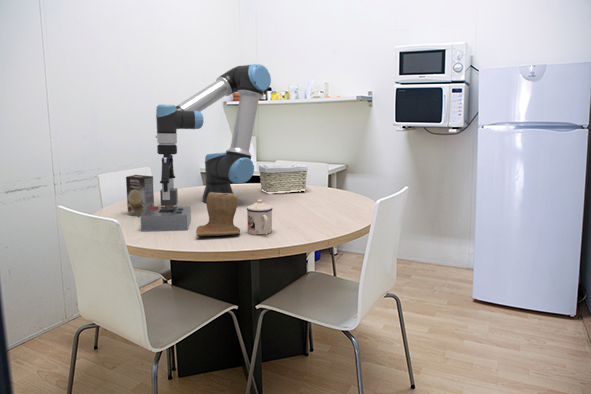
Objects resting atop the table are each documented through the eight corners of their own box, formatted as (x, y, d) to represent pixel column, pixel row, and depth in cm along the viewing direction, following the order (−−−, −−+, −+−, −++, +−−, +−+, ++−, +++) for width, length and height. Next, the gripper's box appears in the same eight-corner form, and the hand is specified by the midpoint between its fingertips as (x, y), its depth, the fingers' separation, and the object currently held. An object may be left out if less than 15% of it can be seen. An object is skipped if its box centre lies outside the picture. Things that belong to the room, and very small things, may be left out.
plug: (178, 214, 189) (177, 188, 187) (176, 217, 183) (175, 190, 181) (163, 214, 188) (162, 188, 186) (161, 217, 182) (160, 190, 180)
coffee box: (126, 215, 186) (124, 176, 183) (137, 212, 192) (135, 174, 189) (145, 217, 183) (143, 177, 181) (155, 213, 189) (153, 175, 186)
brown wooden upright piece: (237, 229, 166) (237, 188, 163) (241, 237, 155) (241, 194, 152) (195, 231, 162) (194, 189, 160) (196, 240, 151) (195, 195, 148)
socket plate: (190, 219, 179) (190, 204, 178) (187, 230, 164) (186, 212, 163) (148, 220, 177) (148, 205, 176) (141, 231, 161) (140, 213, 160)
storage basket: (264, 195, 236) (264, 167, 234) (257, 190, 251) (257, 163, 249) (308, 193, 243) (308, 165, 241) (298, 188, 259) (299, 162, 256)
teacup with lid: (243, 230, 164) (243, 198, 162) (267, 228, 168) (267, 197, 166) (253, 238, 153) (253, 204, 151) (279, 236, 157) (279, 203, 155)
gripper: (161, 142, 192) (163, 191, 196) (152, 145, 168) (153, 202, 171) (179, 142, 193) (180, 191, 197) (173, 146, 169) (174, 202, 172)
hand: (168, 196), depth 184 cm, fingers open, 13 cm apart
